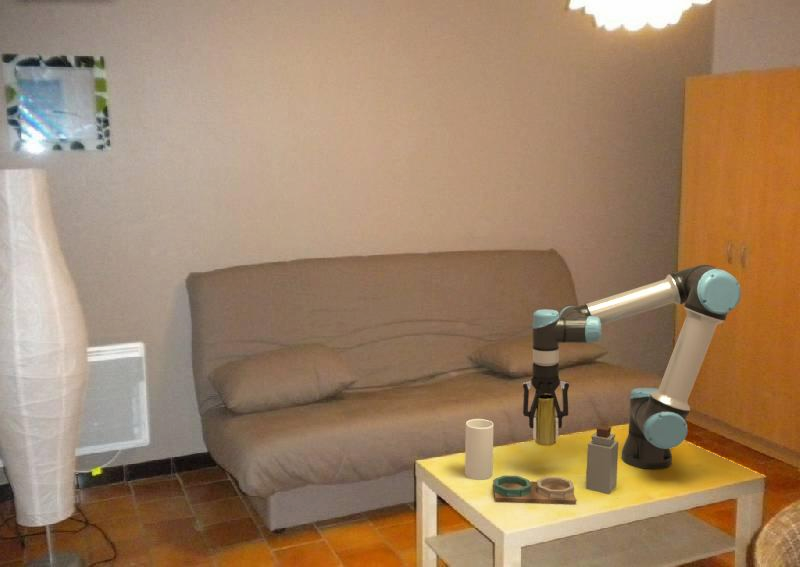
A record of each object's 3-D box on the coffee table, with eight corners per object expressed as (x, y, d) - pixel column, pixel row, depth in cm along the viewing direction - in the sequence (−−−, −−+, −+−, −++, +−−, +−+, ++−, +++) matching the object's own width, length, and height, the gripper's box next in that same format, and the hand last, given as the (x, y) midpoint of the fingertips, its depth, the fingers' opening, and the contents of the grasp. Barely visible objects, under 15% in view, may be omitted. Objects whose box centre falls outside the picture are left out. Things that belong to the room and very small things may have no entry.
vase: (555, 446, 231) (556, 399, 228) (534, 445, 232) (534, 399, 230) (556, 439, 237) (556, 393, 234) (535, 438, 238) (535, 393, 236)
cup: (496, 471, 238) (497, 421, 236) (487, 481, 231) (488, 429, 228) (470, 467, 242) (471, 417, 239) (461, 477, 234) (461, 425, 232)
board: (569, 486, 228) (570, 475, 227) (575, 504, 216) (576, 493, 215) (493, 484, 229) (493, 473, 229) (495, 501, 217) (495, 491, 217)
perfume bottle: (609, 494, 222) (611, 433, 220) (585, 489, 226) (588, 428, 223) (616, 485, 228) (619, 426, 225) (593, 480, 232) (596, 422, 229)
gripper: (576, 359, 233) (575, 433, 237) (512, 359, 235) (512, 433, 238) (580, 365, 226) (579, 442, 230) (514, 366, 227) (514, 442, 231)
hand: (545, 438), depth 234 cm, fingers closed on vase, 6 cm apart
